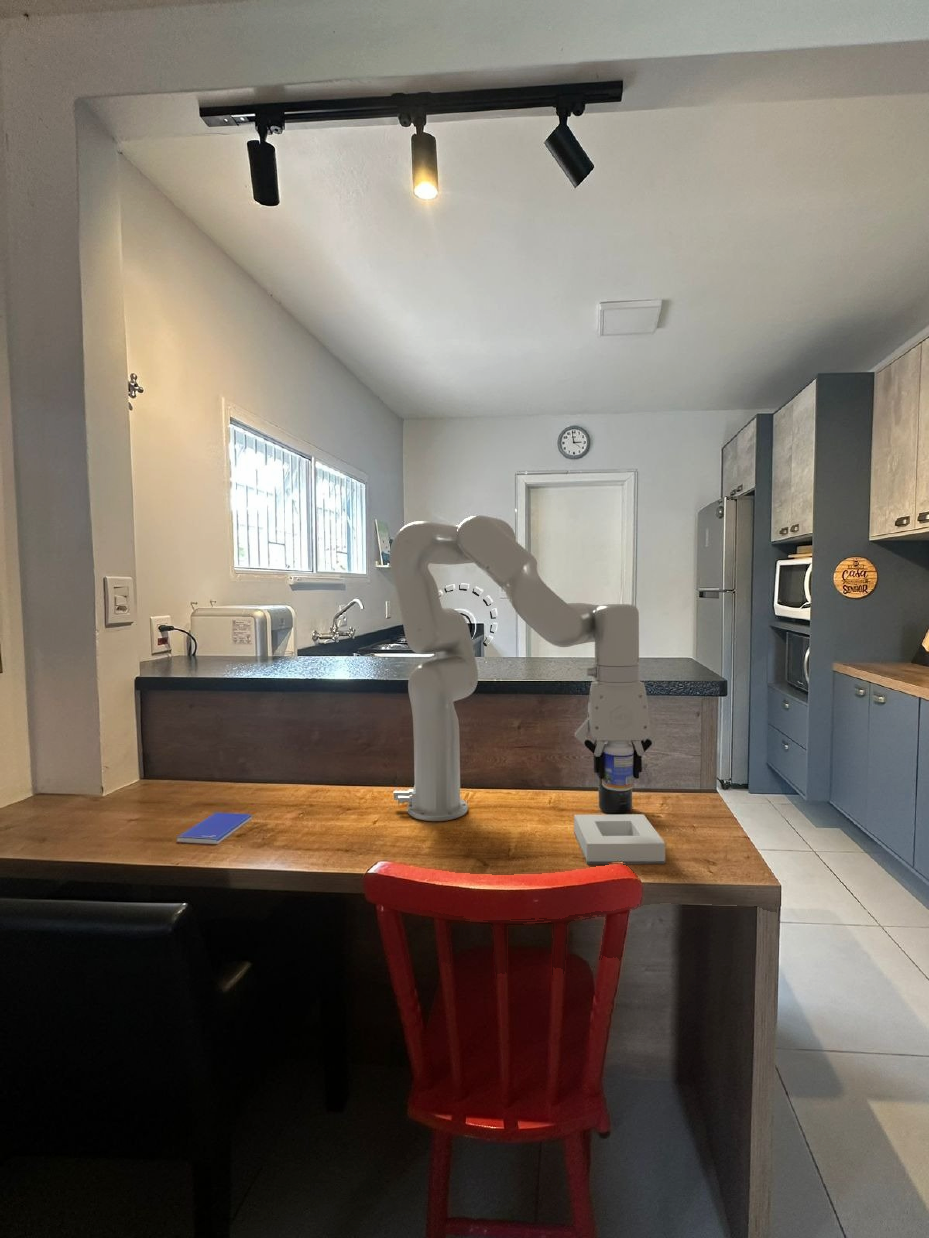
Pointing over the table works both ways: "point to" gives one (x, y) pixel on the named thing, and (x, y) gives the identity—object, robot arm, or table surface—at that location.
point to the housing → (618, 839)
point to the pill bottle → (618, 765)
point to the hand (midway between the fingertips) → (617, 775)
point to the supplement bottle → (614, 800)
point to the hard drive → (215, 828)
